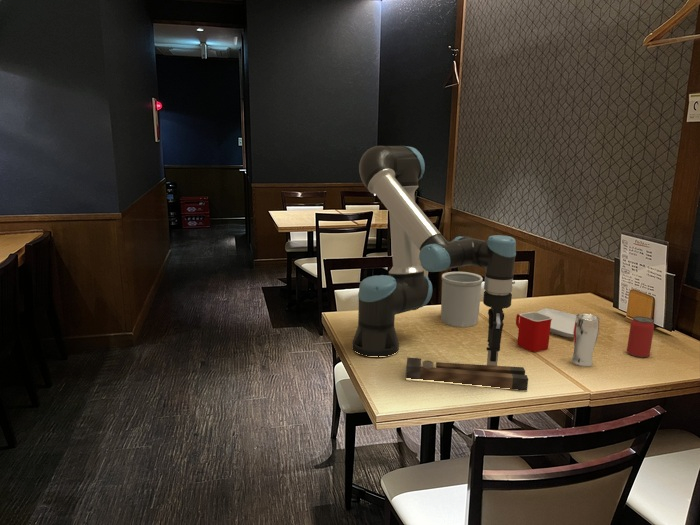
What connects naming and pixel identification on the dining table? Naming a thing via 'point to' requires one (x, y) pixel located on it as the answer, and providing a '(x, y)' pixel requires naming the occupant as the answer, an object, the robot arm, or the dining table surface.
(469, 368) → the bar
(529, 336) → the mug
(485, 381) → the base
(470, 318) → the utensil holder
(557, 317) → the salad plate
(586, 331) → the beer glass
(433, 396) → the dining table surface
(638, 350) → the beer can
